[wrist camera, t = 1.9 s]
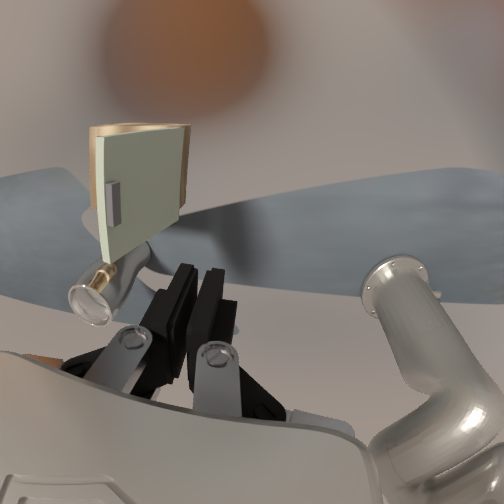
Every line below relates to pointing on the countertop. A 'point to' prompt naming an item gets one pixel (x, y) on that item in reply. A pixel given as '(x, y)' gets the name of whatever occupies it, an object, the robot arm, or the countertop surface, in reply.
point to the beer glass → (107, 286)
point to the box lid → (137, 187)
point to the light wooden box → (130, 127)
